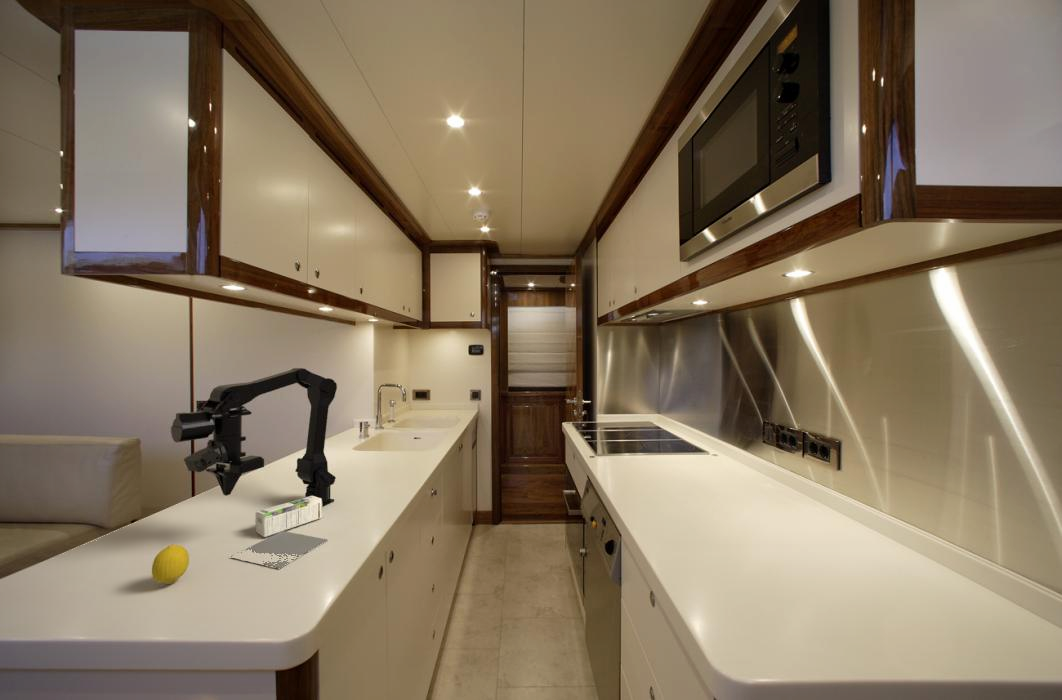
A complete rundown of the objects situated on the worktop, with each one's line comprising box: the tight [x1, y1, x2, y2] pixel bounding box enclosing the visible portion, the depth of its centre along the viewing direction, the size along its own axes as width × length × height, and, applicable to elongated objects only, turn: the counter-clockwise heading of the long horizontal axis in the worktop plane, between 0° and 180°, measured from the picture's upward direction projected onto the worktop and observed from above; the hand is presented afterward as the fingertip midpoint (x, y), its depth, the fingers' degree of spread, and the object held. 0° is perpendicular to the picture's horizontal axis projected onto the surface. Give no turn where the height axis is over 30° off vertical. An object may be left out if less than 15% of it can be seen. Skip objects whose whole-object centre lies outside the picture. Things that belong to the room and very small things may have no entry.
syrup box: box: [255, 496, 323, 538], centre depth 103 cm, size 6×6×14 cm
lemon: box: [151, 544, 190, 585], centre depth 77 cm, size 6×6×8 cm
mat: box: [230, 530, 328, 569], centre depth 90 cm, size 13×15×1 cm
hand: (226, 495), depth 96 cm, fingers closed
